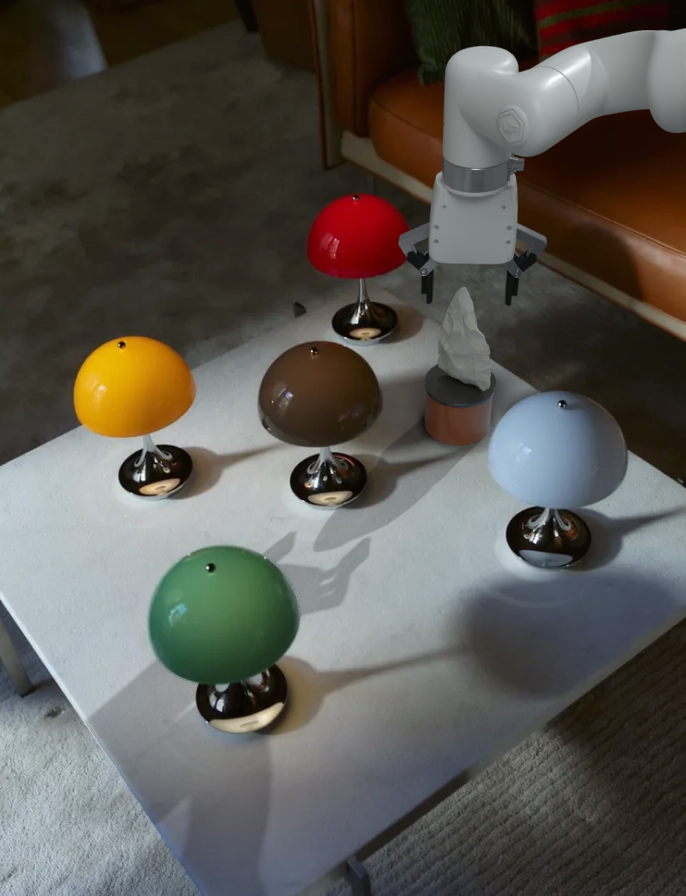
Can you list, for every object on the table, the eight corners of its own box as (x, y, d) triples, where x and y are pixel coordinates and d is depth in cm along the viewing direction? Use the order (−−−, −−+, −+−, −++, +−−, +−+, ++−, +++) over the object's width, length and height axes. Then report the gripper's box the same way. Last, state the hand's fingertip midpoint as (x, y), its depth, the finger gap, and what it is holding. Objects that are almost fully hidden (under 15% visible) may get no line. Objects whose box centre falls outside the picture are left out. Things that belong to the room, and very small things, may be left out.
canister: (492, 402, 136) (496, 360, 130) (491, 448, 129) (496, 406, 124) (425, 399, 137) (426, 357, 131) (420, 444, 130) (422, 402, 125)
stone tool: (430, 377, 128) (434, 283, 118) (443, 366, 130) (448, 272, 119) (483, 402, 124) (492, 307, 113) (496, 390, 126) (506, 295, 115)
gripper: (554, 152, 107) (539, 283, 119) (401, 153, 109) (401, 280, 121) (556, 185, 101) (540, 318, 114) (395, 185, 104) (396, 314, 116)
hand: (468, 298), depth 118 cm, fingers open, 9 cm apart
